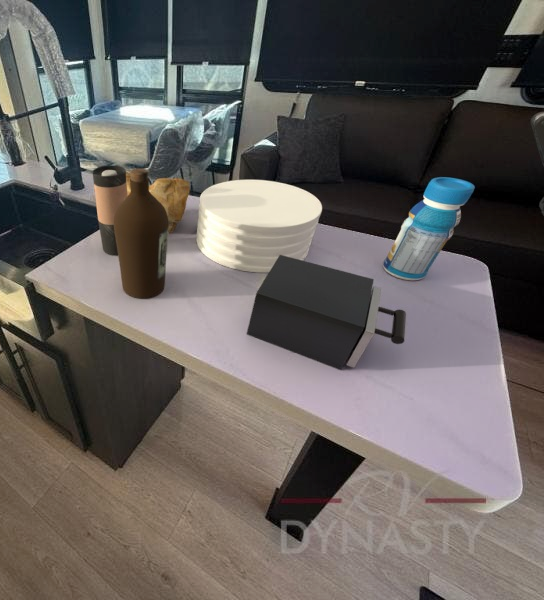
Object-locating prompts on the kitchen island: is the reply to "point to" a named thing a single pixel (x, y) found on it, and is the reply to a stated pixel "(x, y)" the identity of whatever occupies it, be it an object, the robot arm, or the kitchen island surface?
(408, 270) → the beverage bottle
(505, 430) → the kitchen island surface
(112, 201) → the travel mug
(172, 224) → the crumpled paper bag
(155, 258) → the olive oil
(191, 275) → the kitchen island surface
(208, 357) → the kitchen island surface
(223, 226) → the plate stack
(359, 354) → the drawer
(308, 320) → the cabinet
